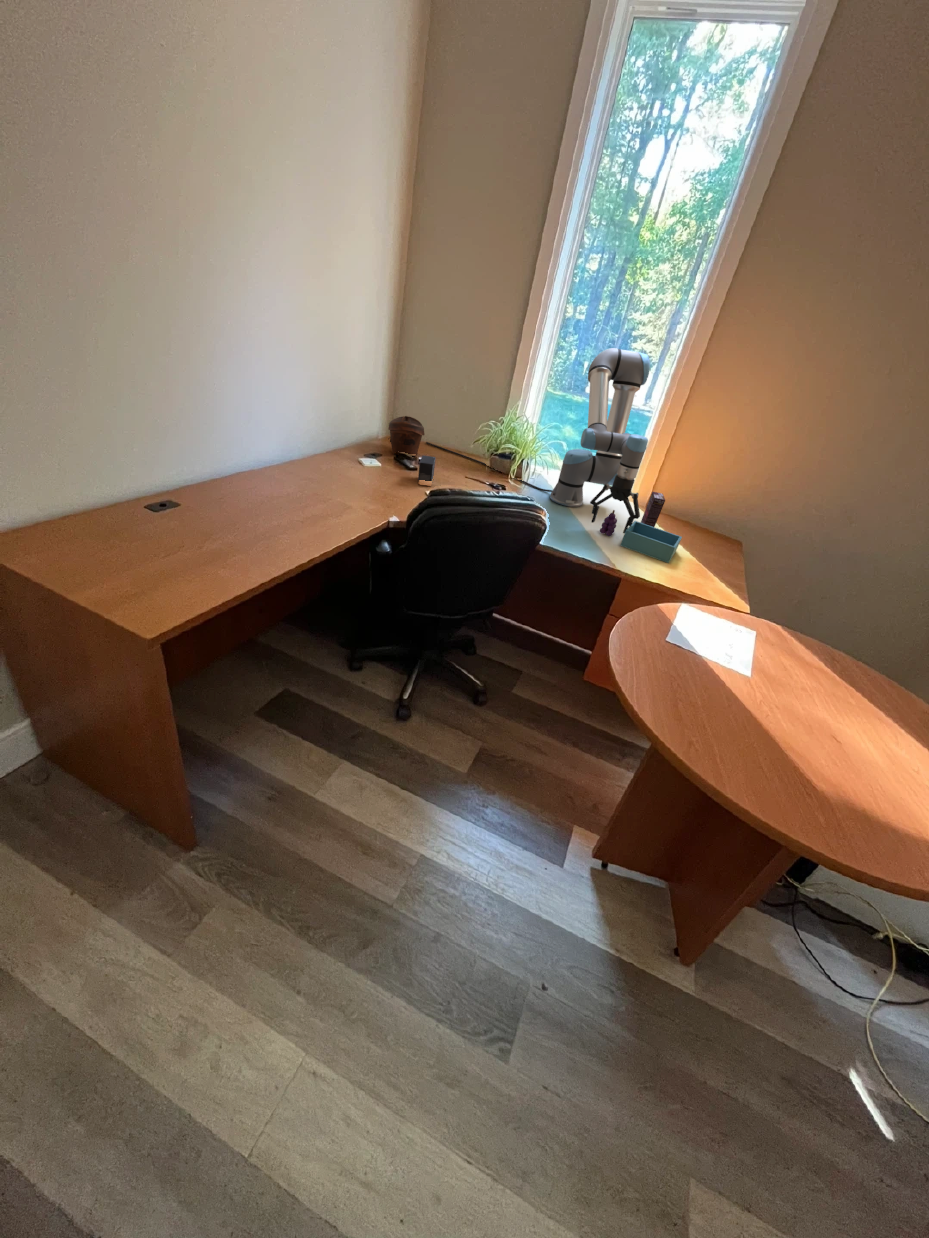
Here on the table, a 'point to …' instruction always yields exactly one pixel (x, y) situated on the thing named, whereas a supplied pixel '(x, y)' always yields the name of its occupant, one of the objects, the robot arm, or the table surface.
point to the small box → (426, 468)
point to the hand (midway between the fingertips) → (608, 527)
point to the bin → (651, 541)
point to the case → (405, 434)
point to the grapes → (609, 524)
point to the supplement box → (653, 509)
